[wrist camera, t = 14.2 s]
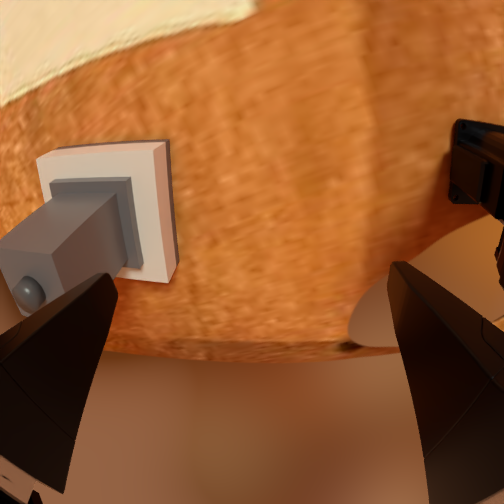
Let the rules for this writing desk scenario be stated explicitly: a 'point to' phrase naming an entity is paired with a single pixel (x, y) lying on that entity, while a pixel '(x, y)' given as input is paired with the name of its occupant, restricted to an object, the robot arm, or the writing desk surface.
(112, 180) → the grey block with knob
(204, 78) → the writing desk surface
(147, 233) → the socket
